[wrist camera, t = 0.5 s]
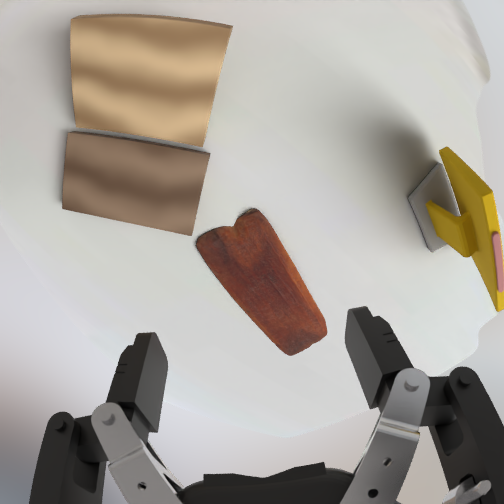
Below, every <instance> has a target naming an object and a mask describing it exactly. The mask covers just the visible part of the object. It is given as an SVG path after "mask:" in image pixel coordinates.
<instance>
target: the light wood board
mask: <svg viewBox="0 0 504 504" xmlns="http://www.w3.org/2000/svg"><path fill="white" fill-rule="evenodd" d="M232 28H233V26H231V25H226V24H221V23H215V22H209V21H203V20H196V19H189V18H180V17H171V16H159V15H142V14H97V15H80V16H77V17H75V18H73V19H71V34H70V50H71V78H72V93H73V104H74V114H75V122H76V127H78V128H88V129H96V130H105V131H112V132H120V133H127V134H133V135H140V136H146V137H152V138H158V139H163V140H169V141H174V142H179V143H185V144H190V145H195V146H199V147H203V144H204V141H205V137H206V132H207V127H208V123H209V118H210V114H211V109H212V105H213V101H214V96H215V92H216V88H217V84H218V80H219V76H220V72H221V68H222V64H223V60H224V56H225V53H226V49H227V45H228V42H229V38H230V35H231V31H232Z"/></svg>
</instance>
